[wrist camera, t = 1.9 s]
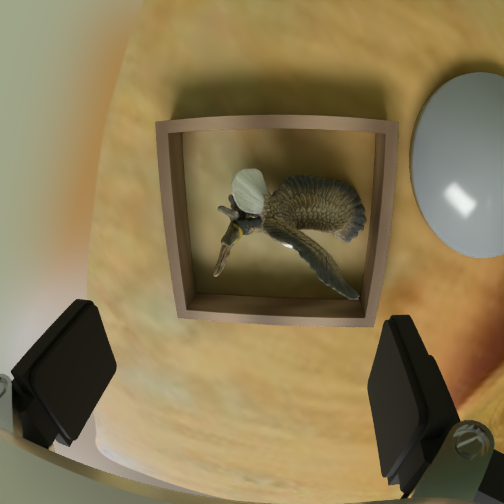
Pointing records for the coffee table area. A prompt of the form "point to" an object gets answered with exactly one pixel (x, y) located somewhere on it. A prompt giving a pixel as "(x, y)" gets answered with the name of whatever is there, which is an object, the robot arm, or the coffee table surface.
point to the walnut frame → (273, 307)
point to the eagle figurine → (295, 219)
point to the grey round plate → (462, 163)
